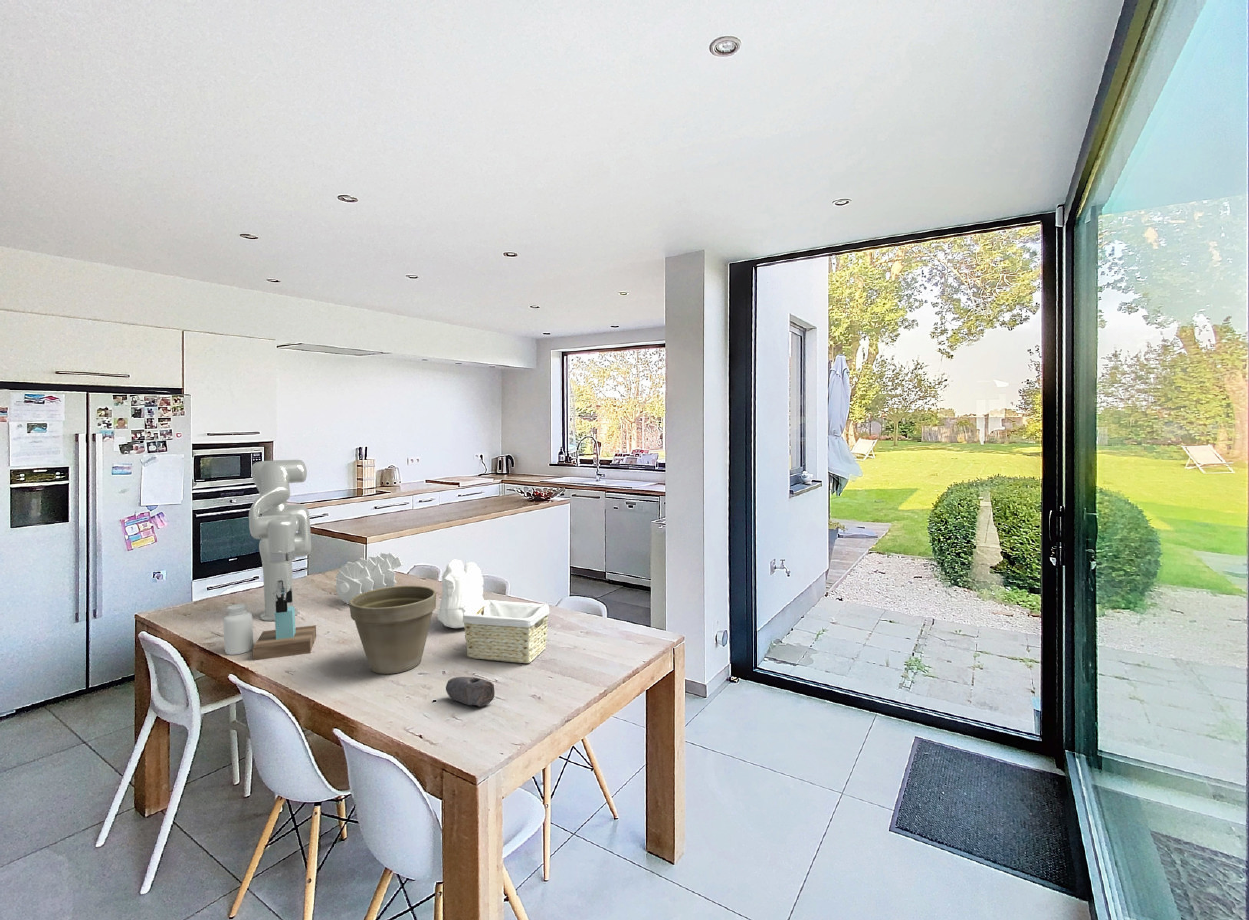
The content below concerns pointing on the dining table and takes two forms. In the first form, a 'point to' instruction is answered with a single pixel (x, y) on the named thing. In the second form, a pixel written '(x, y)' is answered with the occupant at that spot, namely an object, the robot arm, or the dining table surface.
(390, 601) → the plant pot
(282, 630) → the teal carton
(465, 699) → the perforated stone tool
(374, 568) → the spiral staircase
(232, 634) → the pill bottle
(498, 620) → the storage basket
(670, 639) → the dining table surface
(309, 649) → the wavy brown panel
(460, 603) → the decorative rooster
